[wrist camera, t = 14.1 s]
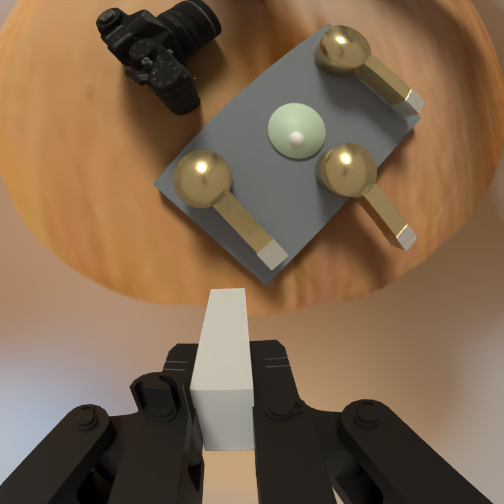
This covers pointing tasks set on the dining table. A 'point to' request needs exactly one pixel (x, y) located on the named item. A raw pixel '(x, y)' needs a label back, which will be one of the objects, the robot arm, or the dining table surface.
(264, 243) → the knob
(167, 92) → the camera
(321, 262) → the dining table surface
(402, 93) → the knob
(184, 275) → the dining table surface
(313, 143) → the level plate
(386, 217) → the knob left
